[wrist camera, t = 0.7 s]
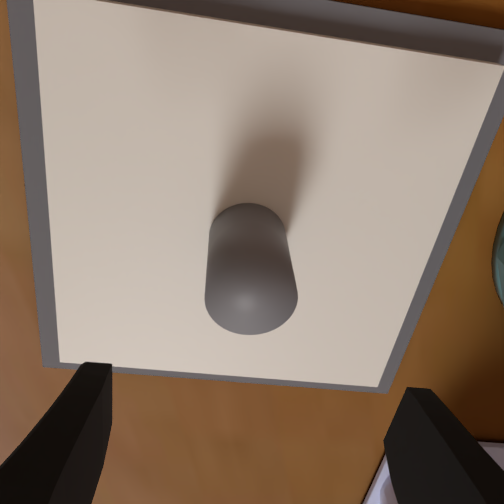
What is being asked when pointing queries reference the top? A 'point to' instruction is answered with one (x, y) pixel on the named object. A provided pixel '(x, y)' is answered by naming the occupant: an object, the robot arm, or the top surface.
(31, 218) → the mat
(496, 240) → the bowl
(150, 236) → the lid
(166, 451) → the top surface
